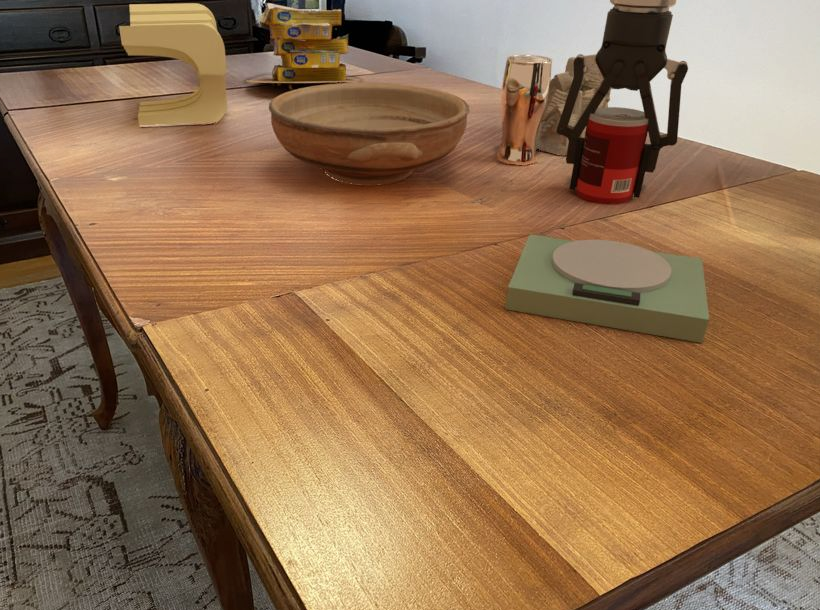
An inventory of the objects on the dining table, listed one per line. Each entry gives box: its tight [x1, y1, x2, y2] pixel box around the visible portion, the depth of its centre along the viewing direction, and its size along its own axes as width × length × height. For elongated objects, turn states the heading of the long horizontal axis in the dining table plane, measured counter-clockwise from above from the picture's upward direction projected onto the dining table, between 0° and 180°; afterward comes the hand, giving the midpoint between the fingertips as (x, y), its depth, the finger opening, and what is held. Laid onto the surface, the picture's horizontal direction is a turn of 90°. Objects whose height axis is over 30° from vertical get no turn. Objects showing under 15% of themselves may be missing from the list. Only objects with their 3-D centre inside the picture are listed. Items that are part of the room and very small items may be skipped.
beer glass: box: [496, 54, 553, 166], centre depth 107 cm, size 7×7×15 cm
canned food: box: [575, 106, 649, 205], centre depth 95 cm, size 8×8×11 cm
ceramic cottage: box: [536, 56, 613, 156], centre depth 117 cm, size 16×16×15 cm
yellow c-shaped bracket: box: [118, 2, 228, 126], centre depth 128 cm, size 30×16×18 cm, turn 12°
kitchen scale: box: [504, 234, 710, 344], centre depth 72 cm, size 18×14×3 cm
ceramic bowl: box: [268, 81, 470, 186], centre depth 103 cm, size 37×29×10 cm
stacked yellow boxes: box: [246, 2, 361, 91], centre depth 150 cm, size 25×25×17 cm
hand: (604, 190), depth 97 cm, fingers closed on canned food, 8 cm apart
